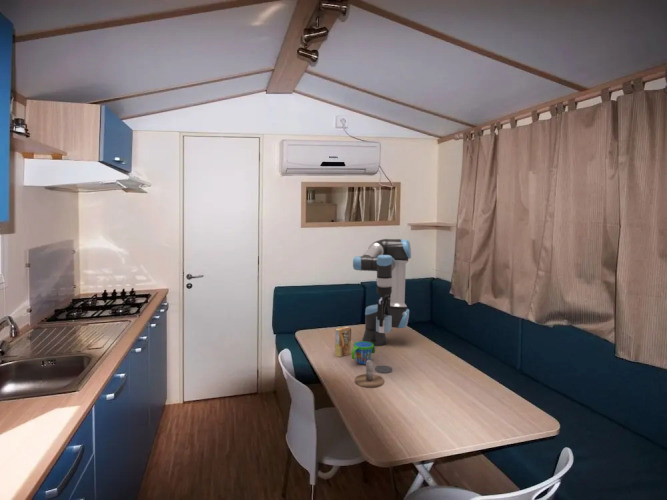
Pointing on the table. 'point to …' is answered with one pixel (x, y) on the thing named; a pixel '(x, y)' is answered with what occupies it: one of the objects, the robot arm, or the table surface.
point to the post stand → (369, 377)
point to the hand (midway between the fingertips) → (383, 330)
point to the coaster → (383, 369)
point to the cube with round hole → (385, 323)
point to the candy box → (342, 341)
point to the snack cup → (363, 351)
